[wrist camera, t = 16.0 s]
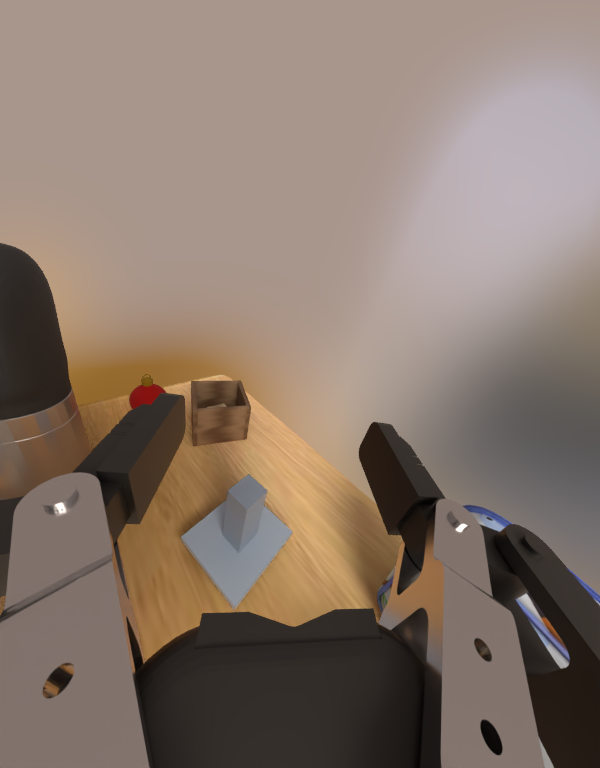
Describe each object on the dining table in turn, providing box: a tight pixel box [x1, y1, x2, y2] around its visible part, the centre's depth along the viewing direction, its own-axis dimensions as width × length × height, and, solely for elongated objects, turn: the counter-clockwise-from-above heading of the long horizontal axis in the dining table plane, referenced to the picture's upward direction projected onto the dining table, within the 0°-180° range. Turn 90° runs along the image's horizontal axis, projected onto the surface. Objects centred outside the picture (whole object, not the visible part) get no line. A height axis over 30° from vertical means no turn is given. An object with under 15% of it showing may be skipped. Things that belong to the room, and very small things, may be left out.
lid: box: [181, 474, 292, 610], centre depth 31 cm, size 11×11×12 cm
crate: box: [191, 381, 251, 446], centre depth 51 cm, size 11×11×9 cm
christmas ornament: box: [129, 374, 166, 409], centre depth 50 cm, size 7×7×10 cm
